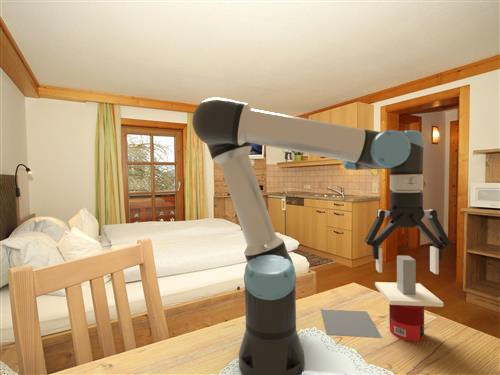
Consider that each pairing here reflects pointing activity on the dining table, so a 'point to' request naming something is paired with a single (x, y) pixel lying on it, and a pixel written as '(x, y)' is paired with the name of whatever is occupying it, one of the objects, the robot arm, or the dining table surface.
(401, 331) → the canned food
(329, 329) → the mat
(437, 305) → the lid
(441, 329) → the dining table surface
